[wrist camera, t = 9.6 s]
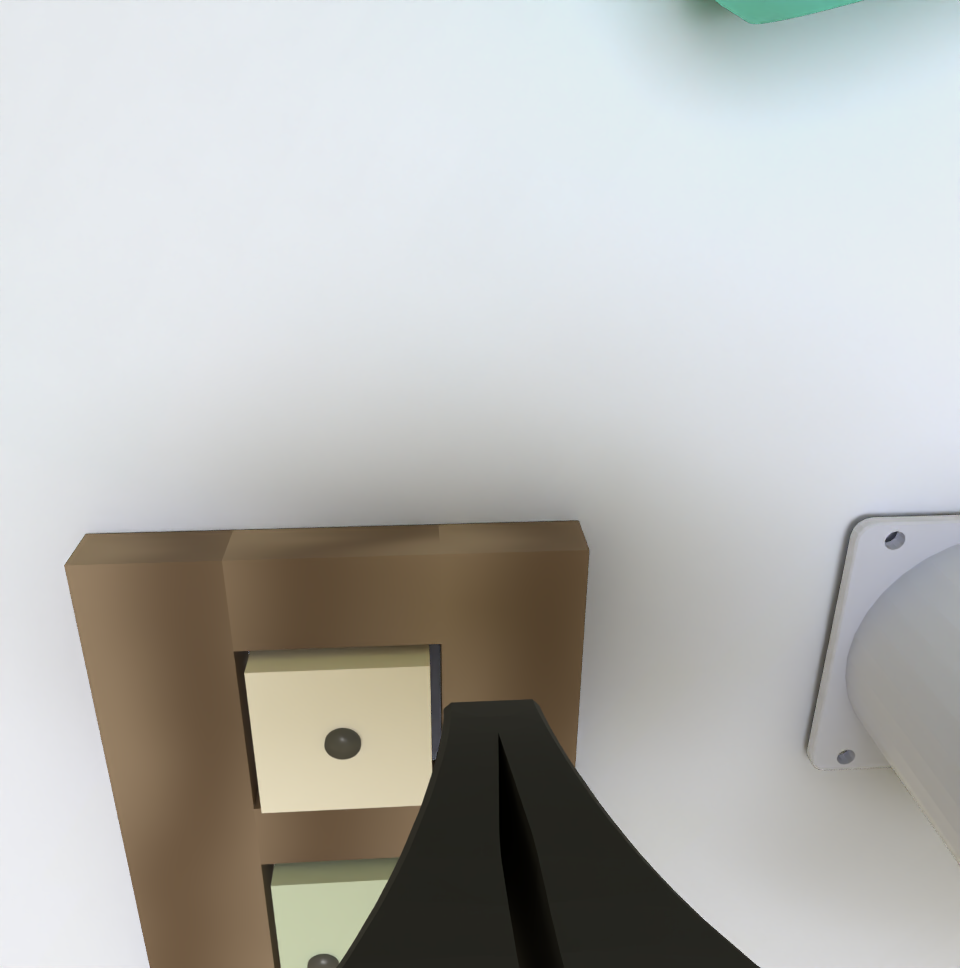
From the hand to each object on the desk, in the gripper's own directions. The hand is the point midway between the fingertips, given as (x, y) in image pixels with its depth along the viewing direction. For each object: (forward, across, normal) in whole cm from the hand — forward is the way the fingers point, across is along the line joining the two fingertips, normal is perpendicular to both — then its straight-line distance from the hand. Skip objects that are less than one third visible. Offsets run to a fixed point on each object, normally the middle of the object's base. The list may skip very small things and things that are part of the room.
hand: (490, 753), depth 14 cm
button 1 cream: (+10, +3, +6) cm, 12 cm away
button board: (+9, +3, +13) cm, 16 cm away
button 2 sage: (+10, +3, +13) cm, 17 cm away
